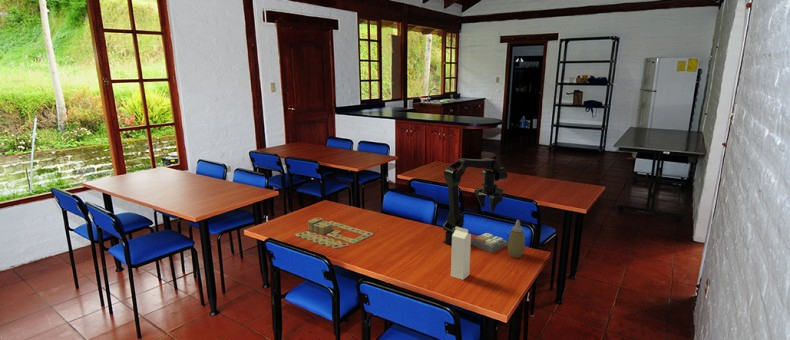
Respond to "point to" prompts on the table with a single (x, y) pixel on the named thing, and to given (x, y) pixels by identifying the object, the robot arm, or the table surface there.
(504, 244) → the bezel board
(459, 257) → the milk
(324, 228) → the pile of dominoes
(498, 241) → the tile bluegrey
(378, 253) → the table surface
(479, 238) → the tile terracotta
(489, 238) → the tile sage
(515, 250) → the squeeze bottle
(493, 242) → the tile cream
